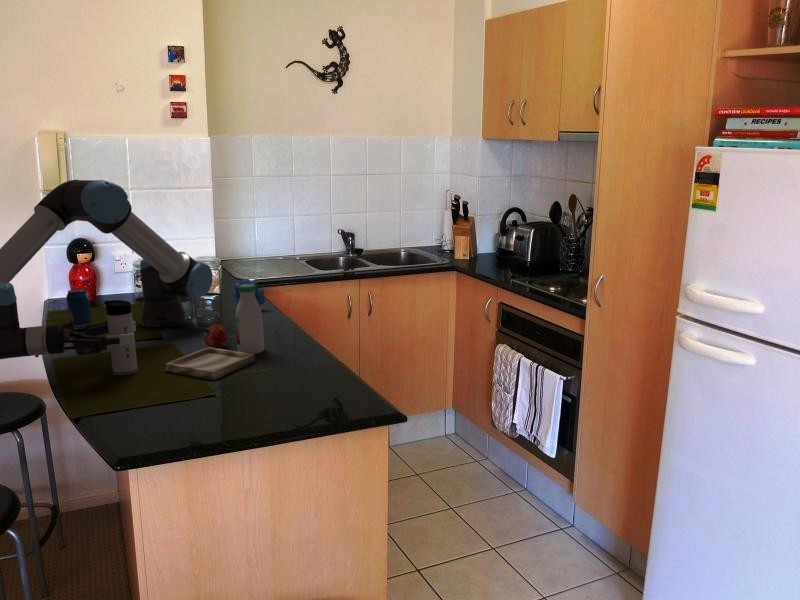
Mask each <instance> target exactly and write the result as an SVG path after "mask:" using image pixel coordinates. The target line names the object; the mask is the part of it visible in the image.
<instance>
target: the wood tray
mask: <svg viewBox="0 0 800 600" xmlns="http://www.w3.org/2000/svg"><path fill="white" fill-rule="evenodd" d="M254 363H256V354H249V353H243V352H238V350H236V351H235V350H231V349H230V350H229V349H223V348H219V349H218V348H212V347H209V346H207V347H206V348H201V349H199V350H197V351H194V352H191V353H190V354H186V355H184V356H180V357H179V358H176V359H174V360H171V361H169V362H168V361H167V362H166V363H164V364H165V366H164V367H165V371H166V372H167V371H169V372H168V373H172V372H174V373H173V374H178V373H180V374H179V375H183V374H185V376H189V375H191V376H190V377H194V376H196V378H199V377H201V378H200V379H205V378H206V379H207V380H210V379H211V380H212V381H216V380H218V379H220V378H222V377H225V376H226V375H230V374H231V373H233V372H236V371H238V370H241V369H243V368H245V367H247V366H249V365H251V364H254Z"/></svg>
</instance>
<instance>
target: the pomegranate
mask: <svg viewBox="0 0 800 600" xmlns="http://www.w3.org/2000/svg"><path fill="white" fill-rule="evenodd" d="M203 332H204V334H203V342H204V344H205V345H206V346H207V347H212V348H218V349H222V347H223V346H224V343H225V344H227V345H230V343H228V342H226V341H227V340H228V332H227V329H226V328H225V327H224V326H223V325H221V324H211V325H210V326H208V327H207V328H206V329H204V330H203Z"/></svg>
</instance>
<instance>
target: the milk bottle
mask: <svg viewBox="0 0 800 600" xmlns="http://www.w3.org/2000/svg"><path fill="white" fill-rule="evenodd" d="M239 293H240V300H239V303H238V305H236V309H235V332H236V333H235V334H236V344H237V346H236V347H237V348H236V349H237V352H243V353H249V354H255V355H258V354H260V353H263V352H264V350H265V338H264V323H263V312H262V307H261V308H260V306H259V304H258V302H257V300H256V297H255V285H253V284H243V285H240V286H239Z"/></svg>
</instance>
